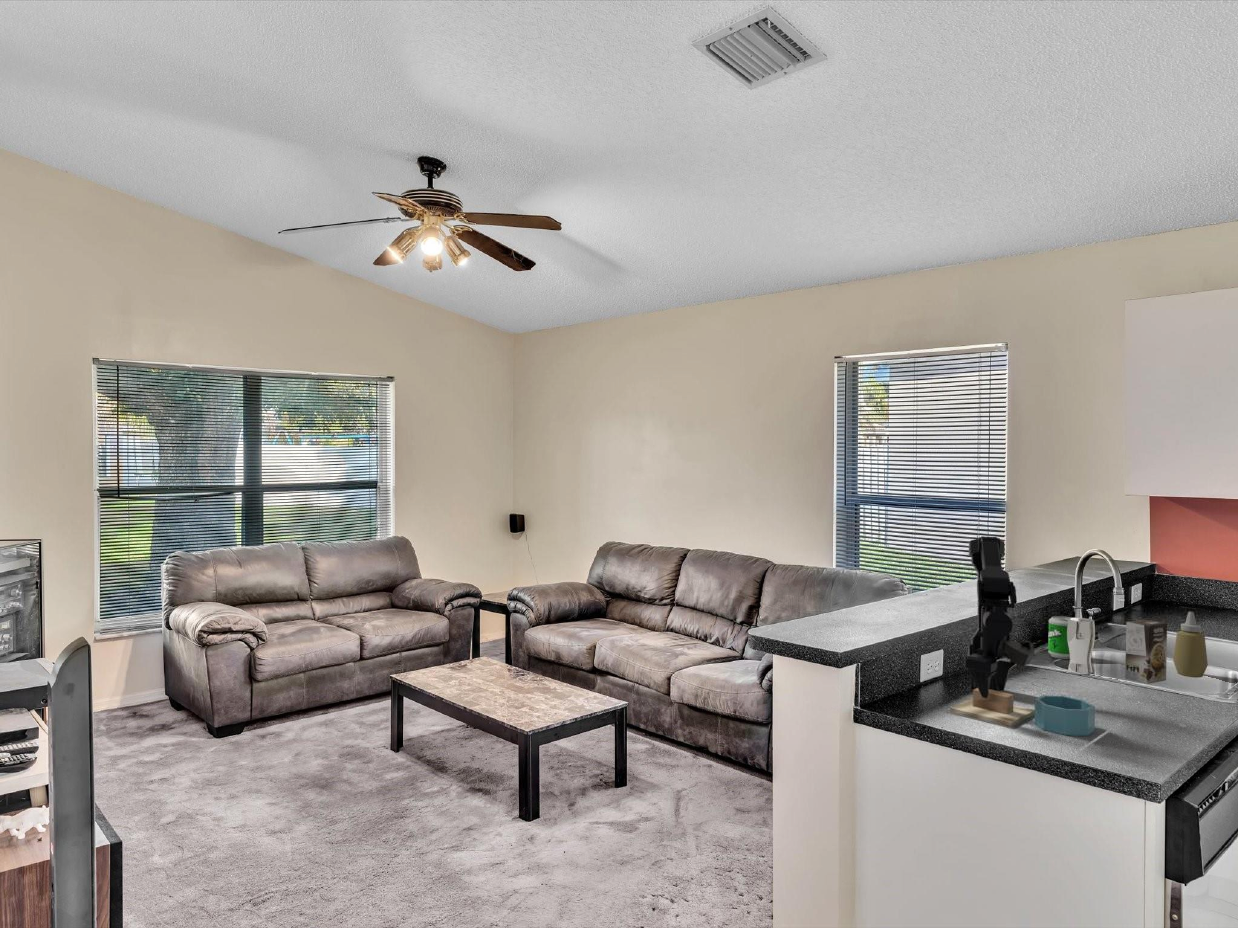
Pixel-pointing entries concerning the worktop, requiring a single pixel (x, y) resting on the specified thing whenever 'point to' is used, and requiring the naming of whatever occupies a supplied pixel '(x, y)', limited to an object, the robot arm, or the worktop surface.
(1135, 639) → the cookie box
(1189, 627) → the squeeze bottle
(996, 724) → the mat
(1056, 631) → the soda can
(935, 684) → the worktop surface
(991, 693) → the lid
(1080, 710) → the bowl
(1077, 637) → the white tall piece
